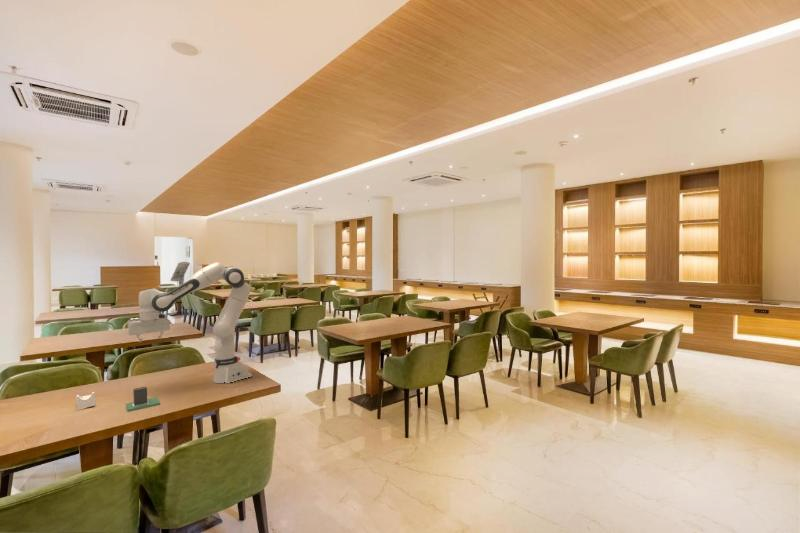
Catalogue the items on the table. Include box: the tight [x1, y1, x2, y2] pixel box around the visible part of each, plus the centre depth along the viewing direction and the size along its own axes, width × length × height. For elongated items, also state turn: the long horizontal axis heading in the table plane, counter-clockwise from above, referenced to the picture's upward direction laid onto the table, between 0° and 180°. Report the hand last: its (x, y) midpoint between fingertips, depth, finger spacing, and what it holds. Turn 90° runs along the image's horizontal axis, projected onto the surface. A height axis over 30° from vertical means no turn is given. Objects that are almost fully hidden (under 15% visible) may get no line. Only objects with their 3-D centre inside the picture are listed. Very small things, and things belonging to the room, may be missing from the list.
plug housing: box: [132, 385, 148, 406], centre depth 199 cm, size 6×4×8 cm, turn 130°
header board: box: [125, 396, 161, 413], centre depth 200 cm, size 14×11×4 cm
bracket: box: [75, 391, 96, 411], centre depth 201 cm, size 13×7×8 cm, turn 42°
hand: (150, 340), depth 219 cm, fingers open, 8 cm apart
